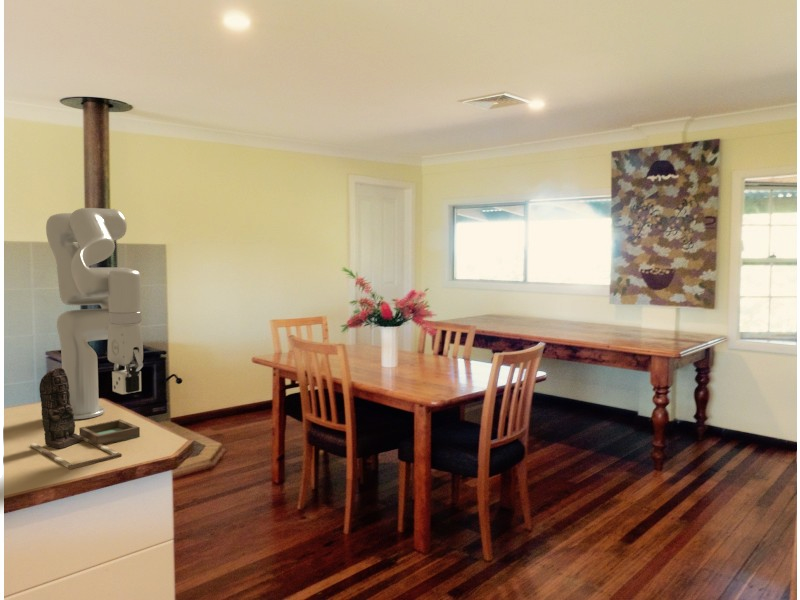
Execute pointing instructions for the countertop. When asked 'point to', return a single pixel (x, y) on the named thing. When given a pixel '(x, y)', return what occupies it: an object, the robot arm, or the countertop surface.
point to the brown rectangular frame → (70, 466)
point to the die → (121, 381)
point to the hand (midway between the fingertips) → (127, 388)
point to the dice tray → (110, 432)
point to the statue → (57, 410)
